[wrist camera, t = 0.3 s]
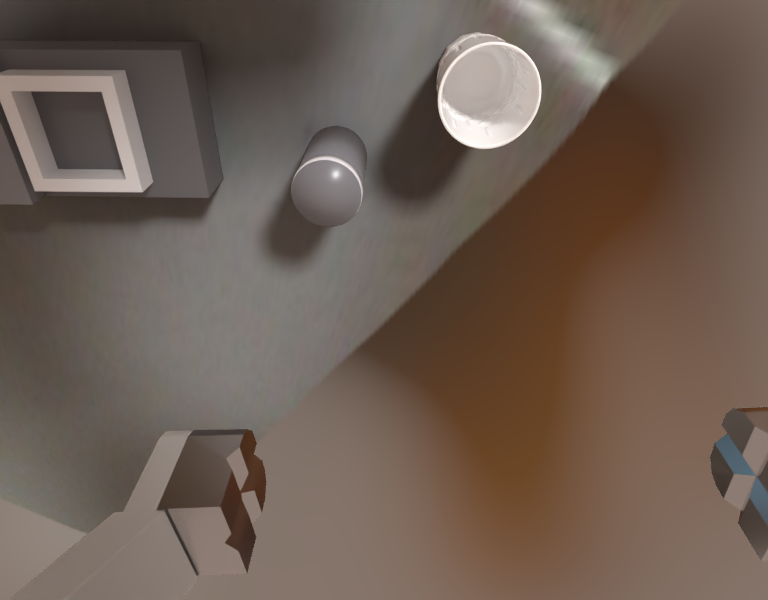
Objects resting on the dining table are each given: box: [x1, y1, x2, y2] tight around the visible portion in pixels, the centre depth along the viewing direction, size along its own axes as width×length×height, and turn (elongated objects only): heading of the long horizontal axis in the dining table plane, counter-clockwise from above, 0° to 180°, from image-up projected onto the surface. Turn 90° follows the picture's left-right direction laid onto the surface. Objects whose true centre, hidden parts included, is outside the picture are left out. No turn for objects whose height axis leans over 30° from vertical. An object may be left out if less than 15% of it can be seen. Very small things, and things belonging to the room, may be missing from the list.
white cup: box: [437, 32, 541, 149], centre depth 45 cm, size 8×8×10 cm
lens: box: [291, 126, 367, 227], centre depth 50 cm, size 6×6×10 cm
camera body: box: [0, 40, 223, 205], centre depth 49 cm, size 13×20×8 cm, turn 90°
